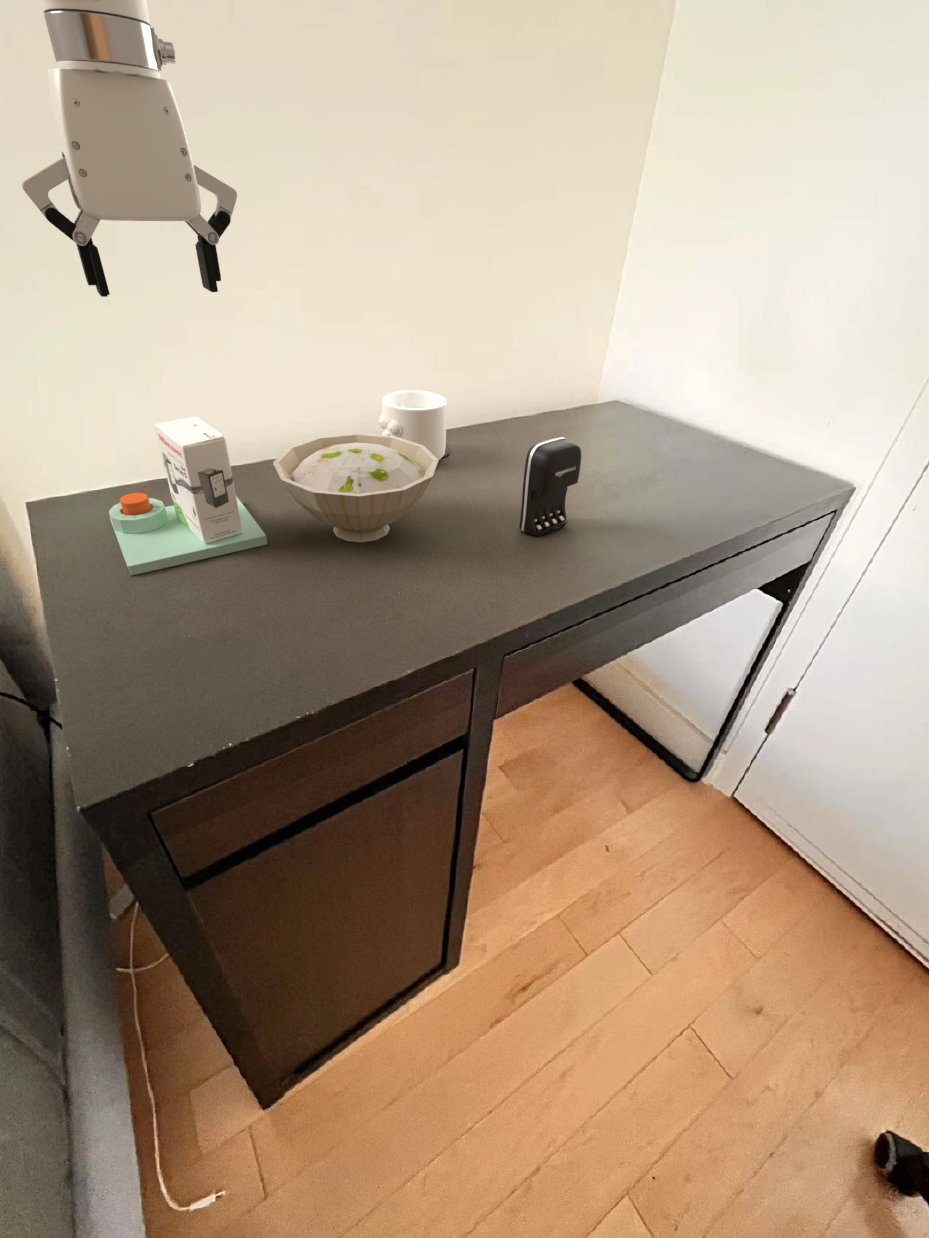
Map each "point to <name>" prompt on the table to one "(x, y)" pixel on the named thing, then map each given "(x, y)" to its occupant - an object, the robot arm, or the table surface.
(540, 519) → the battery charger
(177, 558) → the scale
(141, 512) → the button
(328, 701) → the table surface
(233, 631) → the table surface
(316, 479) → the bowl
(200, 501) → the ink box
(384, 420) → the mug
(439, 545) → the table surface
